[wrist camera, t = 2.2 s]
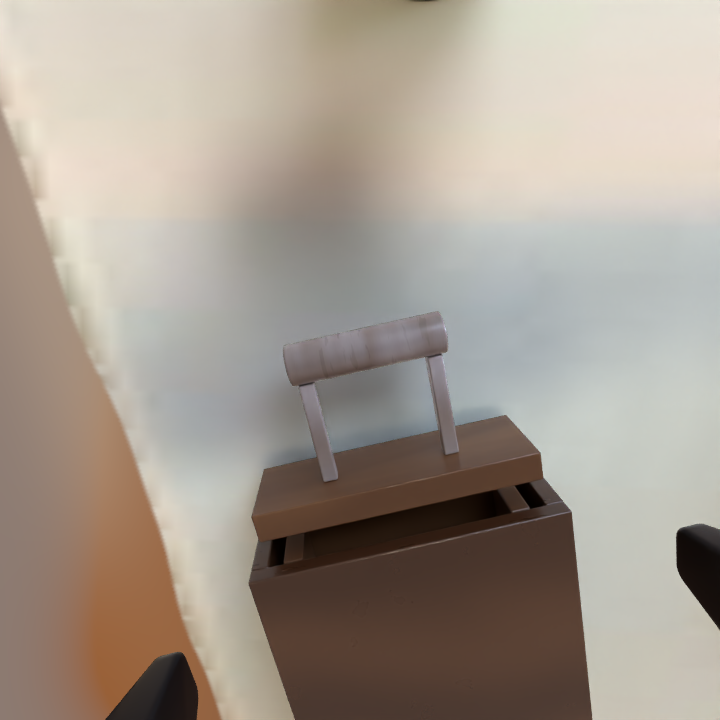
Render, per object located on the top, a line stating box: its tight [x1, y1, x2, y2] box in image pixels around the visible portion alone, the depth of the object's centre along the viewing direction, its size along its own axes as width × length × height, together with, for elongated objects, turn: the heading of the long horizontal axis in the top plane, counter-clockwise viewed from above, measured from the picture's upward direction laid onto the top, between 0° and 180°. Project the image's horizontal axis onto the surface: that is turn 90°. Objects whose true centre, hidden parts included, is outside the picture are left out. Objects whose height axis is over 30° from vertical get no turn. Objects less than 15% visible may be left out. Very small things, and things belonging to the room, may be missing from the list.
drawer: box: [252, 311, 543, 564], centre depth 21 cm, size 21×11×4 cm, turn 12°
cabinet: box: [249, 478, 592, 720], centre depth 23 cm, size 16×12×5 cm
